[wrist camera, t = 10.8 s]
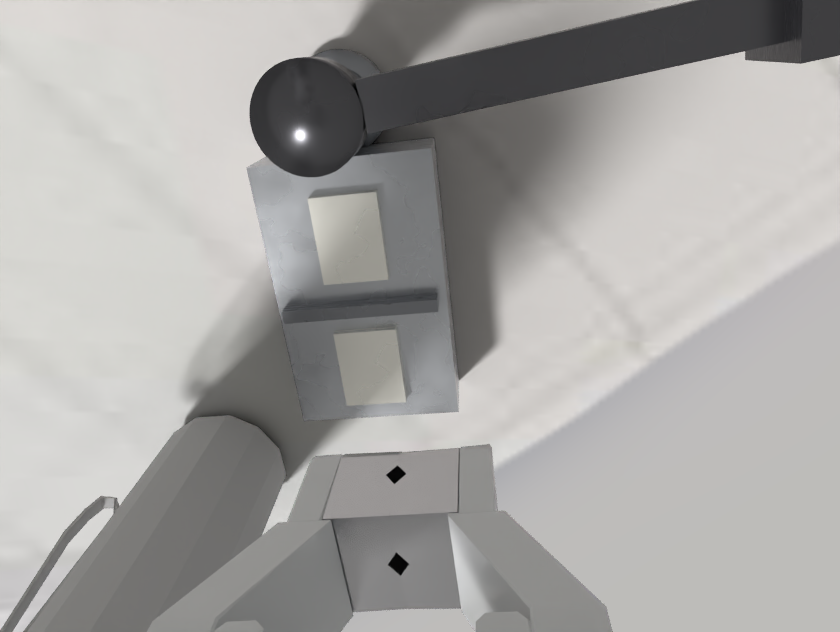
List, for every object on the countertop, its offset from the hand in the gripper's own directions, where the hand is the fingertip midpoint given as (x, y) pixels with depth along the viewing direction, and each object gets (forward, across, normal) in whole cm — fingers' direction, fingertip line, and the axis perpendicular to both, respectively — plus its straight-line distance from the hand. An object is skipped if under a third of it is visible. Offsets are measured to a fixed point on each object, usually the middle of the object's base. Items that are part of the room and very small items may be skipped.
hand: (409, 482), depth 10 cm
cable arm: (+17, -3, -6) cm, 18 cm away
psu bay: (+21, +4, +3) cm, 21 cm away
